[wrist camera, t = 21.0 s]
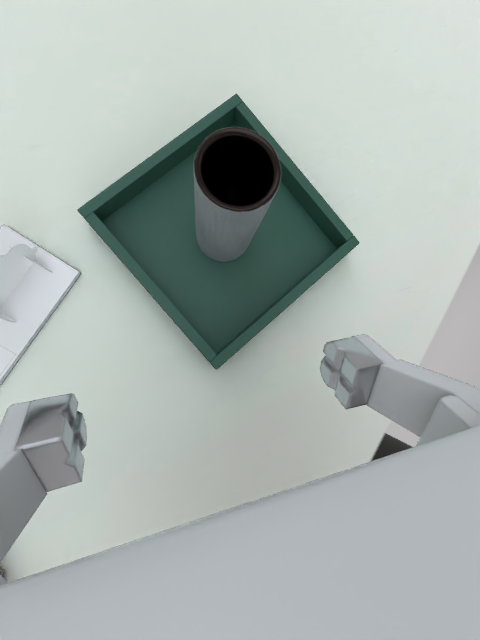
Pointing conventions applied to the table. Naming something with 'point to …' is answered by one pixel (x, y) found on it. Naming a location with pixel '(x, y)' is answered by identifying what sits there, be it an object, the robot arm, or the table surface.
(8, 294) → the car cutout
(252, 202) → the planter
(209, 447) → the table surface
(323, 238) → the tray
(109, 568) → the robot arm
